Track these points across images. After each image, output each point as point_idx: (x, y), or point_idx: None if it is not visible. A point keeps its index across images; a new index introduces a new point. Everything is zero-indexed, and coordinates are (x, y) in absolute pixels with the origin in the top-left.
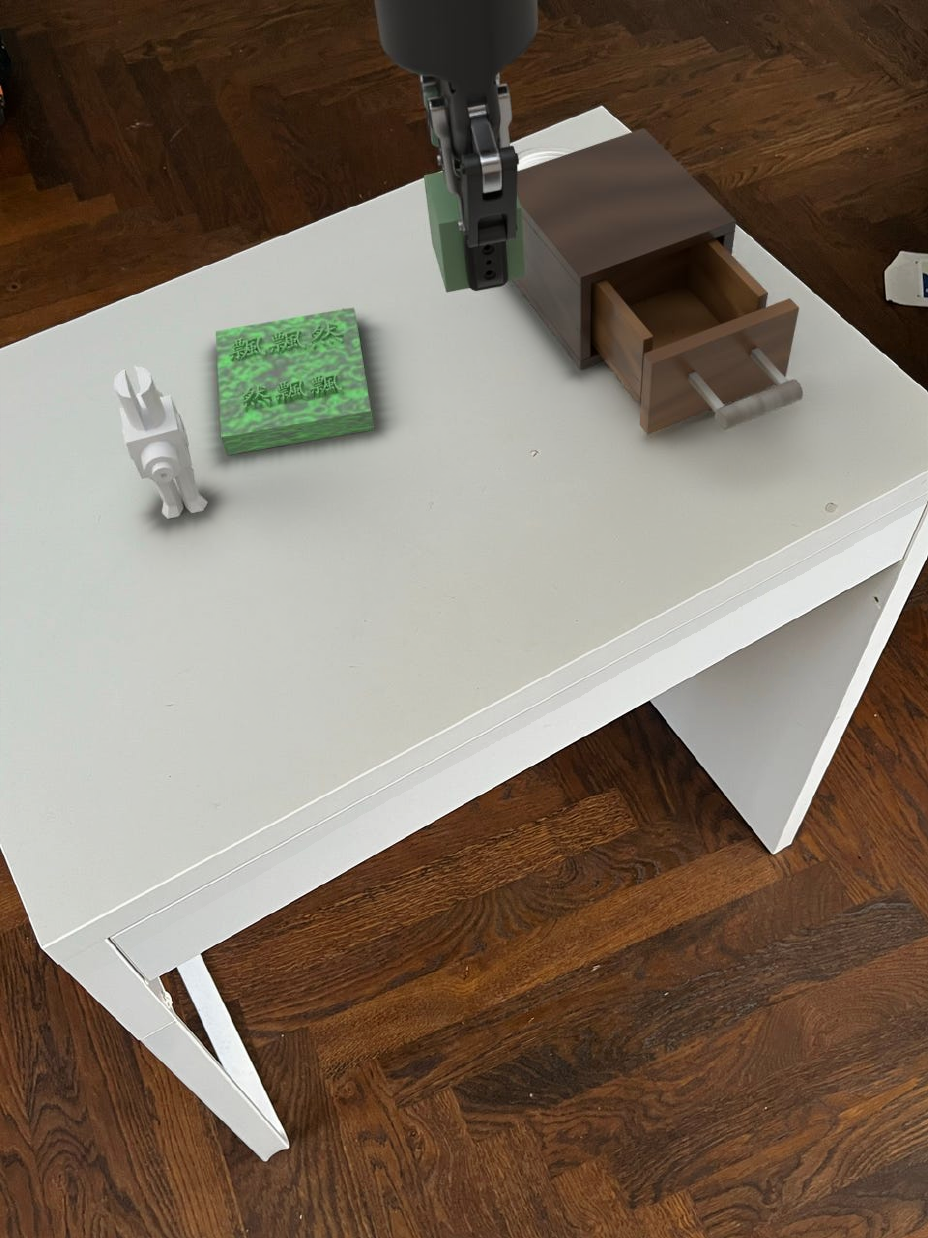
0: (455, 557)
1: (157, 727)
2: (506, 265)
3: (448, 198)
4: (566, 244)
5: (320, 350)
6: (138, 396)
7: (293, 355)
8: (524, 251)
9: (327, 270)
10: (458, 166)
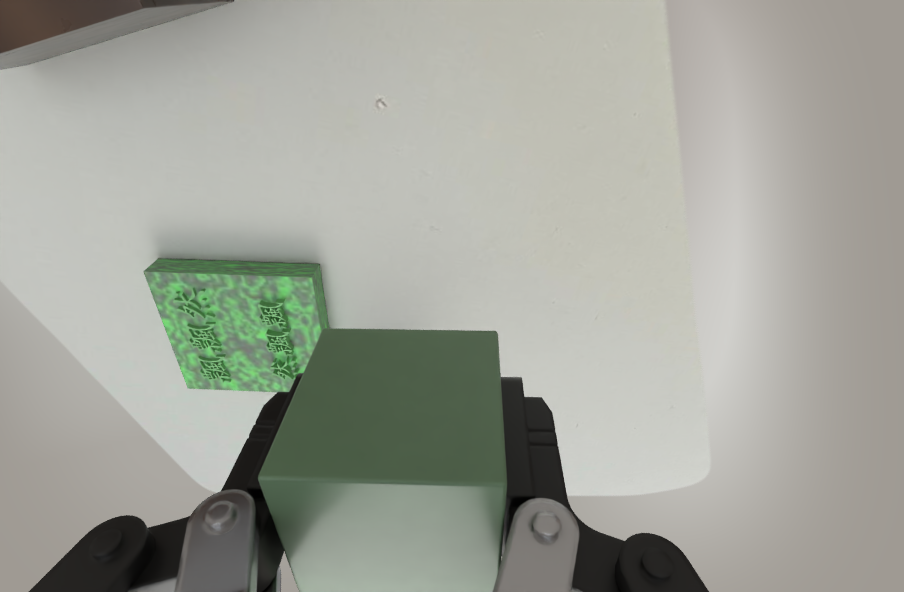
0: (508, 218)
1: (592, 432)
2: (524, 406)
3: (407, 584)
4: (50, 11)
5: (216, 310)
6: None
7: (223, 333)
8: (25, 57)
9: (65, 275)
10: (276, 553)
